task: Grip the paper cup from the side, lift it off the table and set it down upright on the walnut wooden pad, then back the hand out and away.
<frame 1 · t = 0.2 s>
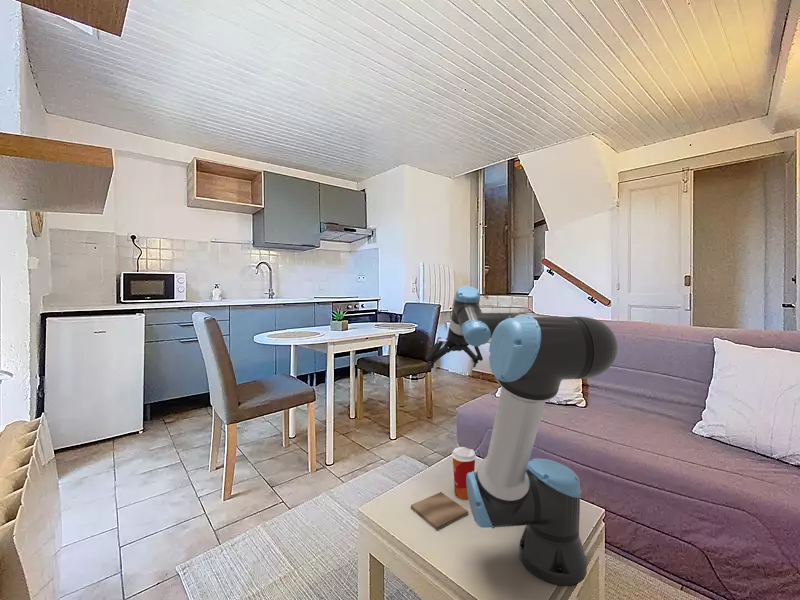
hand: (451, 372, 132), 35 cm above the table, tool tilted 35°, fingers open, 13 cm apart
walnut pad: (439, 511, 106), on the table
paper cup: (463, 495, 115), on the table
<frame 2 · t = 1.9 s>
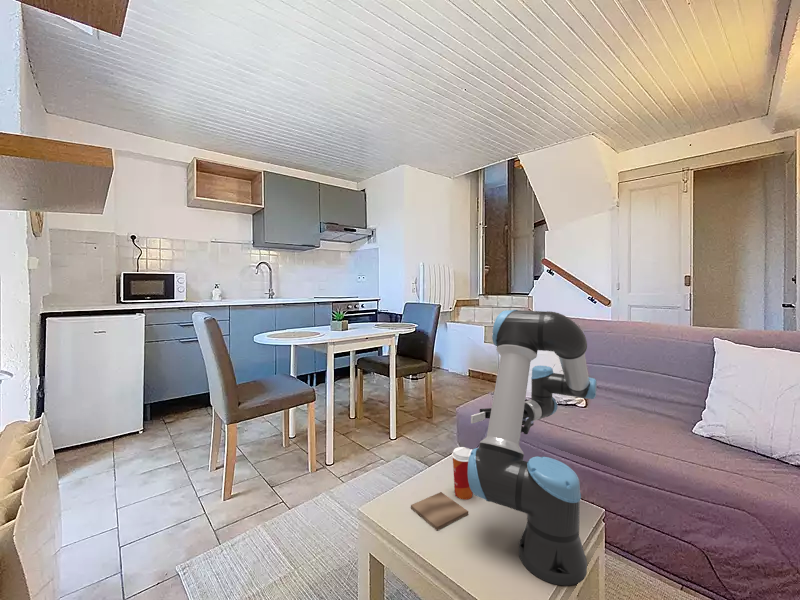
hand: (486, 425, 120), 20 cm above the table, tool horizontal, fingers open, 13 cm apart
nothing on the table moved.
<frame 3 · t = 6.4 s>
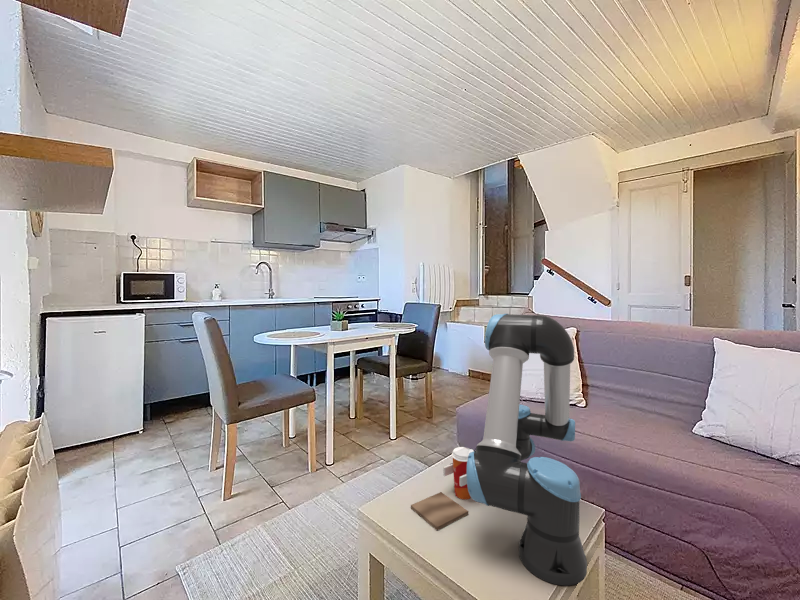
hand: (452, 476, 112), 8 cm above the table, tool horizontal, fingers closed on paper cup, 6 cm apart
paper cup: (463, 495, 115), on the table, touching gripper
when the fingers open (10 cm above the table, at t = 11.0 s): paper cup moves 4 cm, resting on walnut pad.
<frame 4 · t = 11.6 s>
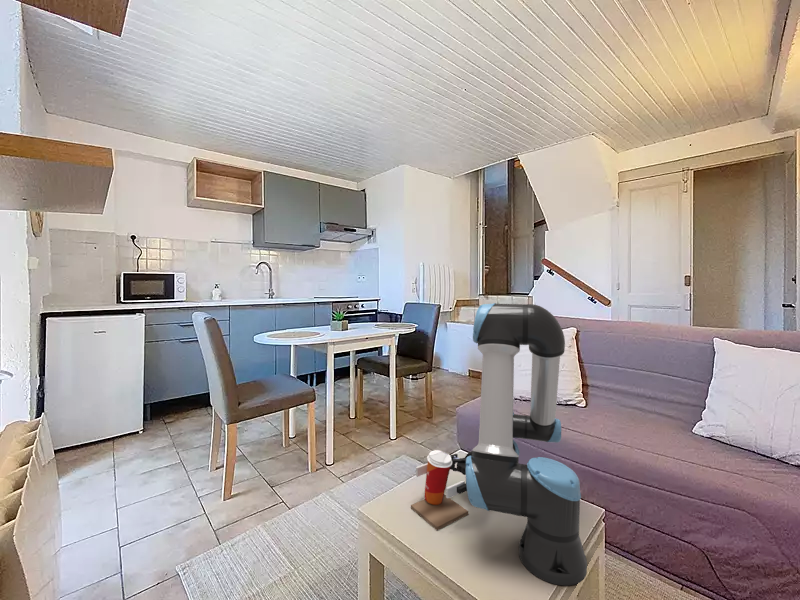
hand: (430, 482, 104), 10 cm above the table, tool horizontal, fingers open, 13 cm apart
paper cup: (433, 499, 110), point 1 cm above the table, touching gripper, walnut pad
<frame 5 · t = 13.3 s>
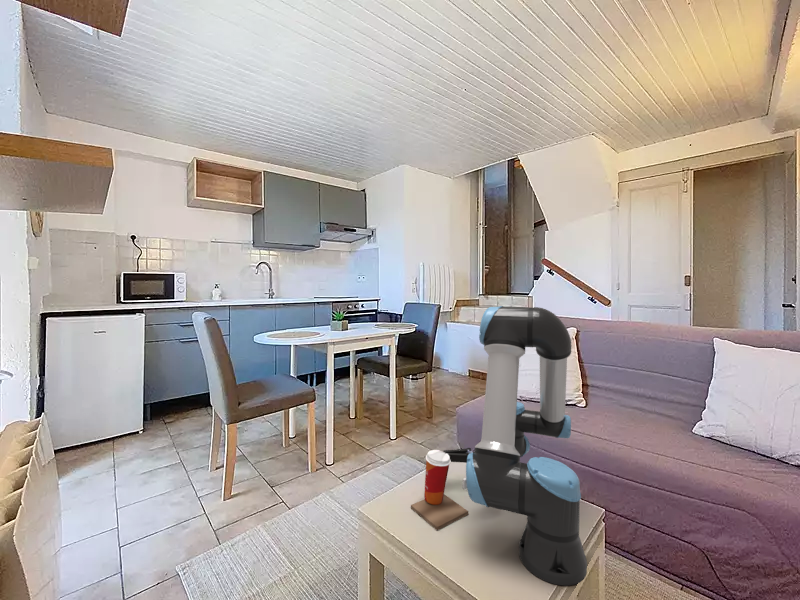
hand: (447, 474, 108), 10 cm above the table, tool horizontal, fingers open, 13 cm apart
paper cup: (433, 499, 110), point 1 cm above the table, touching walnut pad
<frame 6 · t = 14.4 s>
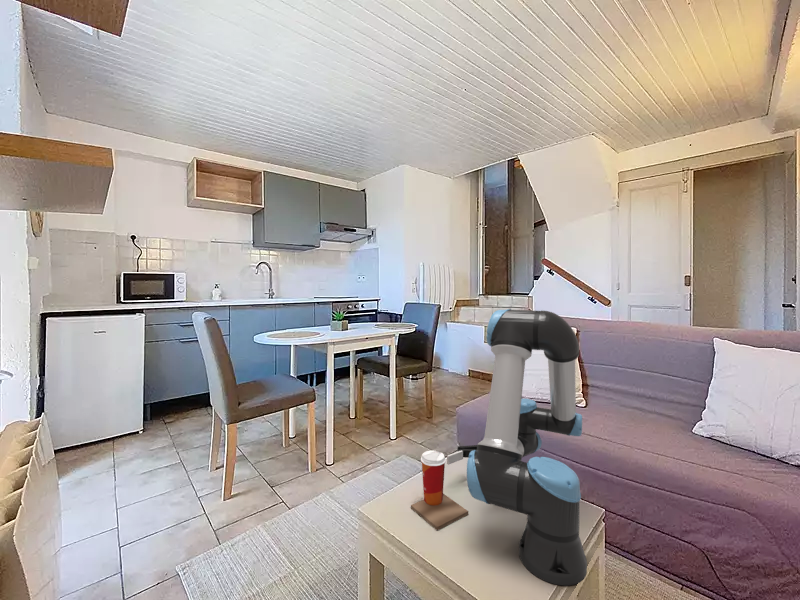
hand: (462, 468, 111), 10 cm above the table, tool horizontal, fingers open, 13 cm apart
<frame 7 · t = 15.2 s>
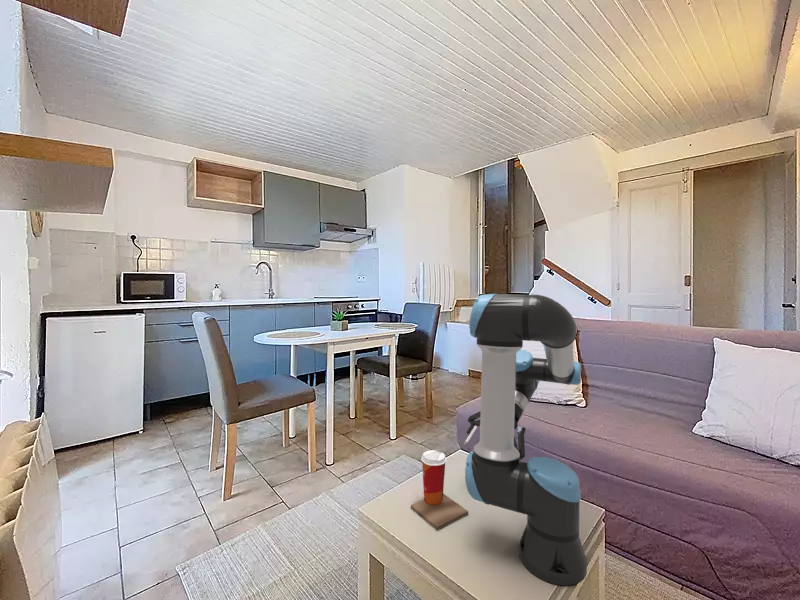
hand: (483, 457, 112), 13 cm above the table, tool tilted 55°, fingers open, 13 cm apart
nothing on the table moved.
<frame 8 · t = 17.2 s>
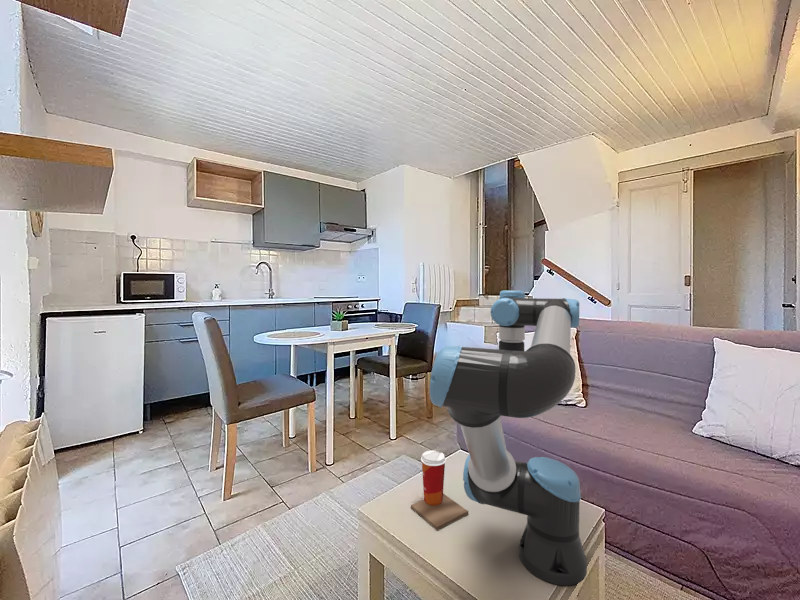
hand: (510, 408, 111), 29 cm above the table, tool pointing down, fingers open, 13 cm apart
nothing on the table moved.
at the end: paper cup inside the target area on the walnut pad (4.1 cm from its centre), point 0.8 cm above the walnut pad's base; paper cup tilted 0°; the gripper is holding nothing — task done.
